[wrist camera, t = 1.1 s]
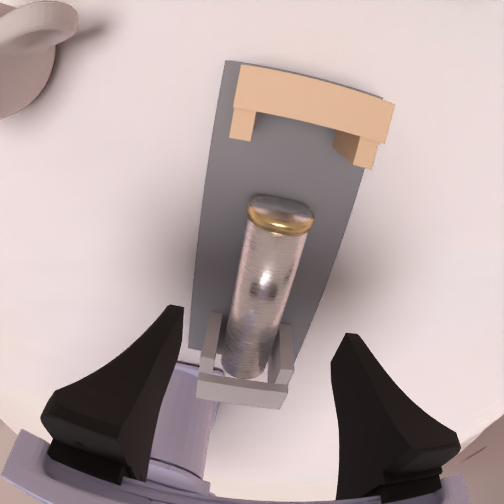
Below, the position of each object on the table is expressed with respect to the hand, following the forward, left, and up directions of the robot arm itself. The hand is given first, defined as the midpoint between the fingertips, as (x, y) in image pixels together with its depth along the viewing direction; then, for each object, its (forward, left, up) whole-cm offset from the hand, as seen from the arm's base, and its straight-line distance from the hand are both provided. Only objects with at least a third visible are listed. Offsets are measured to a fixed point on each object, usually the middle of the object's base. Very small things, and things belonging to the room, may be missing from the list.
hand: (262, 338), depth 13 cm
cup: (+11, +16, -7) cm, 21 cm away
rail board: (+1, 0, -7) cm, 7 cm away
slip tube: (-1, 0, -7) cm, 7 cm away
